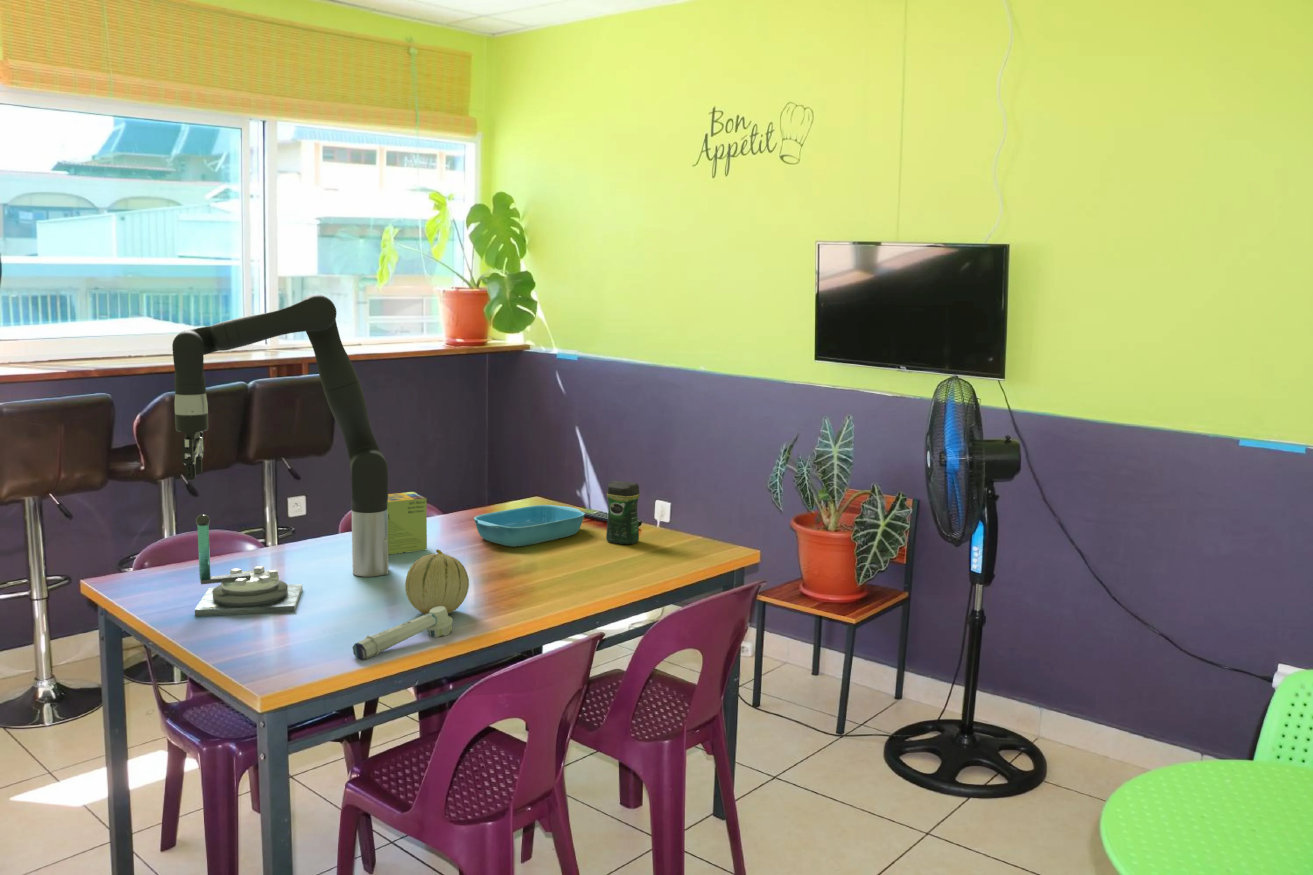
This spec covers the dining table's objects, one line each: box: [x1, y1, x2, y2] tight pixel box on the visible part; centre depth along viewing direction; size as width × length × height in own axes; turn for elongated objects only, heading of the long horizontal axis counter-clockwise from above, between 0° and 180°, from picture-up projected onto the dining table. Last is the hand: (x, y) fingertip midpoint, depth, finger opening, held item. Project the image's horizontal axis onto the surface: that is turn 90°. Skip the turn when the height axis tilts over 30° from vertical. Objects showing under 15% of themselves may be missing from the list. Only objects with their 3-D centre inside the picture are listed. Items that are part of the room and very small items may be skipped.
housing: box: [194, 580, 303, 617], centre depth 262 cm, size 22×18×4 cm
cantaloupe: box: [404, 549, 470, 615], centre depth 256 cm, size 15×15×15 cm
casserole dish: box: [473, 504, 586, 548], centre depth 333 cm, size 37×22×7 cm, turn 138°
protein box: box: [387, 491, 428, 556], centre depth 313 cm, size 10×15×16 cm
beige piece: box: [352, 606, 454, 661], centre depth 236 cm, size 5×7×25 cm
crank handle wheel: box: [195, 513, 280, 596], centre depth 259 cm, size 18×13×19 cm
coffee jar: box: [605, 480, 641, 545], centre depth 328 cm, size 10×8×19 cm
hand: (194, 476), depth 271 cm, fingers open, 8 cm apart
